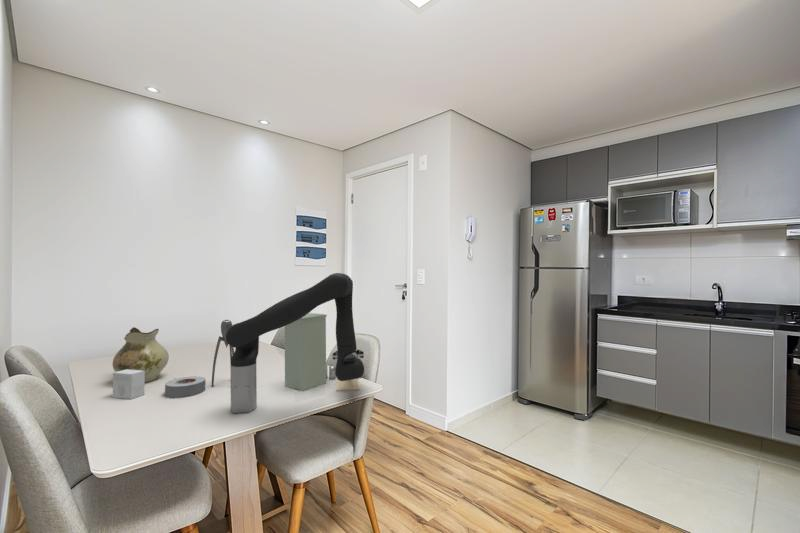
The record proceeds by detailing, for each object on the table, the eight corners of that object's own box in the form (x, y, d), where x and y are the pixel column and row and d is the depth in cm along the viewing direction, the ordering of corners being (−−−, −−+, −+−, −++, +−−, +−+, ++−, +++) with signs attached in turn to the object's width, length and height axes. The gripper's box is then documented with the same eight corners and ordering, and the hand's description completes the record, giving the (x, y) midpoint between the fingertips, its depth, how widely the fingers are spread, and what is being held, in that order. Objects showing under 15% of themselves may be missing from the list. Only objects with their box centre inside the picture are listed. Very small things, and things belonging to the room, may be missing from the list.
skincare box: (145, 394, 162) (145, 370, 162) (131, 399, 156) (131, 374, 156) (126, 392, 165) (126, 368, 165) (112, 397, 158) (111, 372, 158)
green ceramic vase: (148, 387, 171) (148, 332, 172) (97, 387, 172) (97, 332, 172) (178, 373, 194) (178, 324, 194) (133, 374, 194) (132, 325, 194)
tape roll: (193, 385, 175) (192, 374, 175) (212, 390, 167) (212, 378, 167) (157, 394, 162) (157, 382, 162) (177, 401, 154) (177, 388, 154)
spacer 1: (327, 378, 183) (327, 366, 183) (320, 379, 182) (320, 366, 182) (327, 376, 186) (327, 364, 186) (321, 377, 185) (320, 365, 185)
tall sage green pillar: (327, 382, 176) (326, 314, 176) (302, 391, 164) (301, 318, 164) (309, 378, 184) (308, 312, 183) (283, 386, 172) (283, 316, 172)
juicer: (211, 386, 172) (210, 320, 172) (232, 380, 181) (231, 317, 181) (225, 390, 167) (225, 322, 167) (246, 383, 177) (246, 319, 177)
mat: (359, 389, 166) (359, 388, 166) (336, 391, 164) (336, 389, 164) (357, 379, 182) (357, 377, 182) (336, 380, 180) (336, 379, 180)
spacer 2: (335, 379, 181) (335, 367, 181) (329, 379, 181) (328, 367, 181) (335, 377, 185) (335, 365, 185) (329, 377, 184) (329, 365, 184)
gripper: (365, 349, 157) (363, 341, 173) (331, 351, 154) (331, 343, 171) (366, 367, 156) (363, 358, 173) (331, 369, 154) (332, 359, 171)
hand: (347, 350), depth 172 cm, fingers closed on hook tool, 4 cm apart
